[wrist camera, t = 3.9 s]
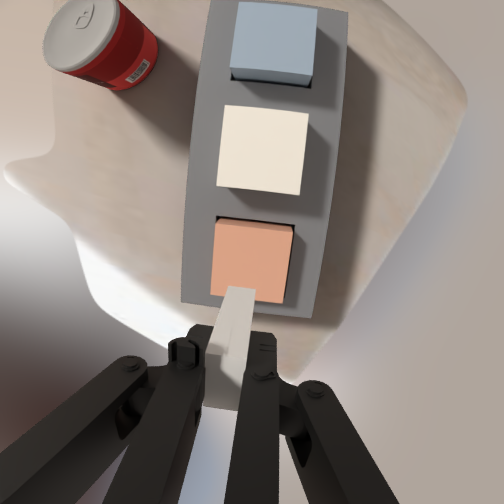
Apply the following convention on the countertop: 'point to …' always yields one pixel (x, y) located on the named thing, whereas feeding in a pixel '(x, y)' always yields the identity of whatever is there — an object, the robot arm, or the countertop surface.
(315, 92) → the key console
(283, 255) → the terracotta key
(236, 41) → the slate key
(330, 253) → the countertop surface
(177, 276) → the countertop surface
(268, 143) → the ivory key
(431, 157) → the countertop surface
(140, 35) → the canned food
